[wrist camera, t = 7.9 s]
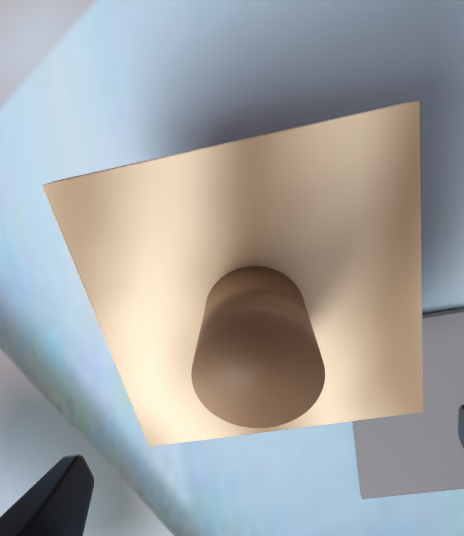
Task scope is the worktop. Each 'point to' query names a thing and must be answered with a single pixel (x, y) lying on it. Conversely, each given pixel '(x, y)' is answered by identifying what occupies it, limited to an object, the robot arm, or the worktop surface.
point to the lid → (259, 276)
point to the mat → (420, 423)
